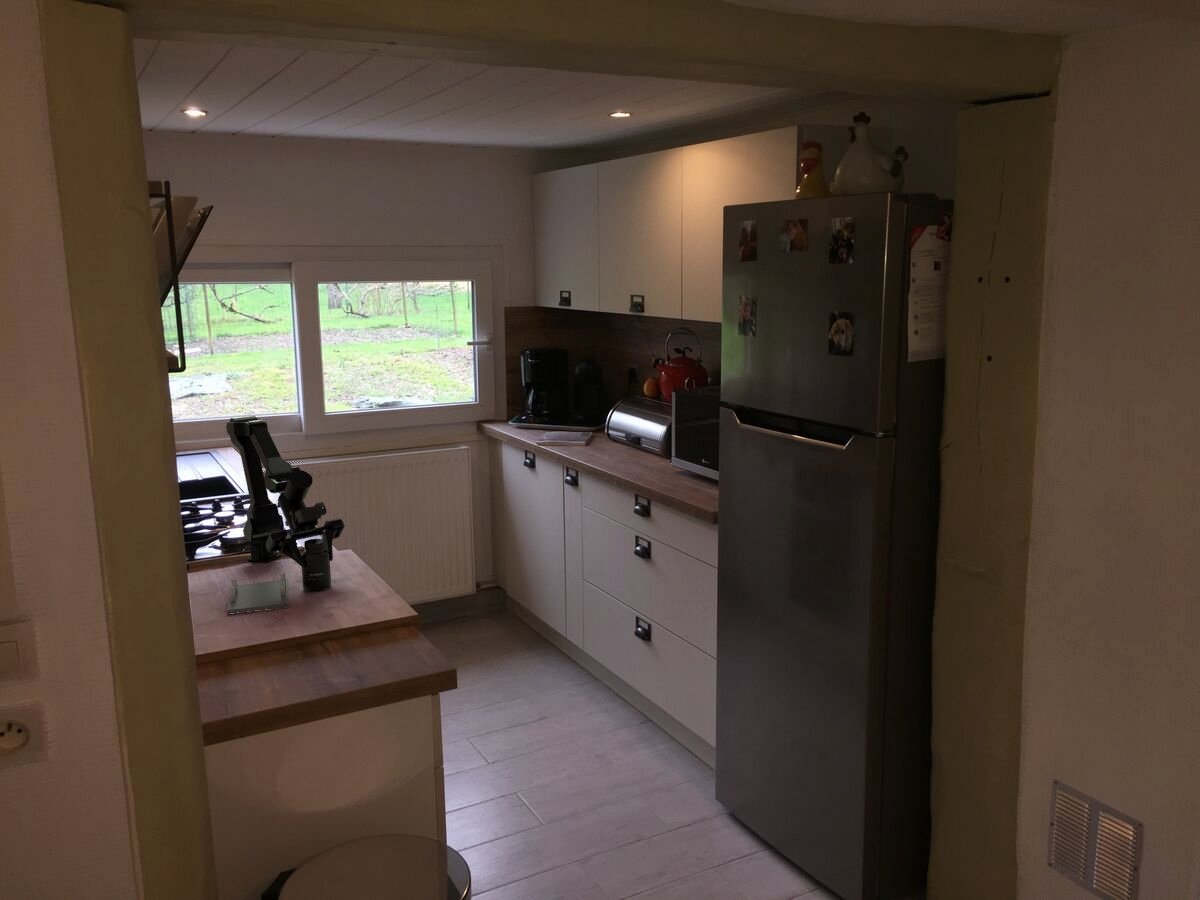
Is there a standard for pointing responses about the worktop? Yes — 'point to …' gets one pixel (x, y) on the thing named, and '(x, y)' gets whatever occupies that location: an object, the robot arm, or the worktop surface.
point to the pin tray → (258, 595)
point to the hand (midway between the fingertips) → (318, 563)
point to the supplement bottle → (316, 566)
